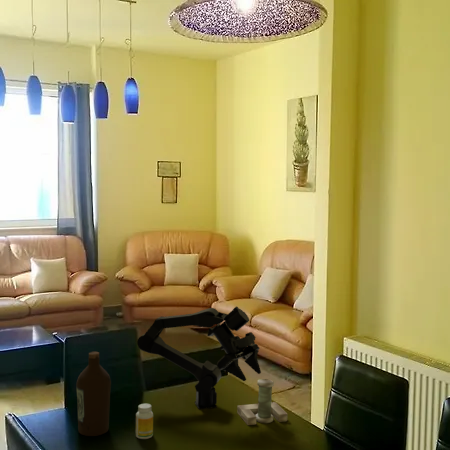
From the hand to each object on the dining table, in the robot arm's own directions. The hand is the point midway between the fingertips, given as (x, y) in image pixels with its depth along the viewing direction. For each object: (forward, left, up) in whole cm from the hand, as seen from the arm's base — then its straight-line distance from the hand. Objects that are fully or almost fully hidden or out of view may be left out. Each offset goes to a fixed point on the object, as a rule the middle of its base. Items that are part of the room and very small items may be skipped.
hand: (252, 376), depth 203 cm
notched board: (+3, -1, -14) cm, 14 cm away
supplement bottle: (-38, -7, -14) cm, 41 cm away
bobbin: (+3, -4, -14) cm, 14 cm away
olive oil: (-53, +1, -14) cm, 55 cm away
